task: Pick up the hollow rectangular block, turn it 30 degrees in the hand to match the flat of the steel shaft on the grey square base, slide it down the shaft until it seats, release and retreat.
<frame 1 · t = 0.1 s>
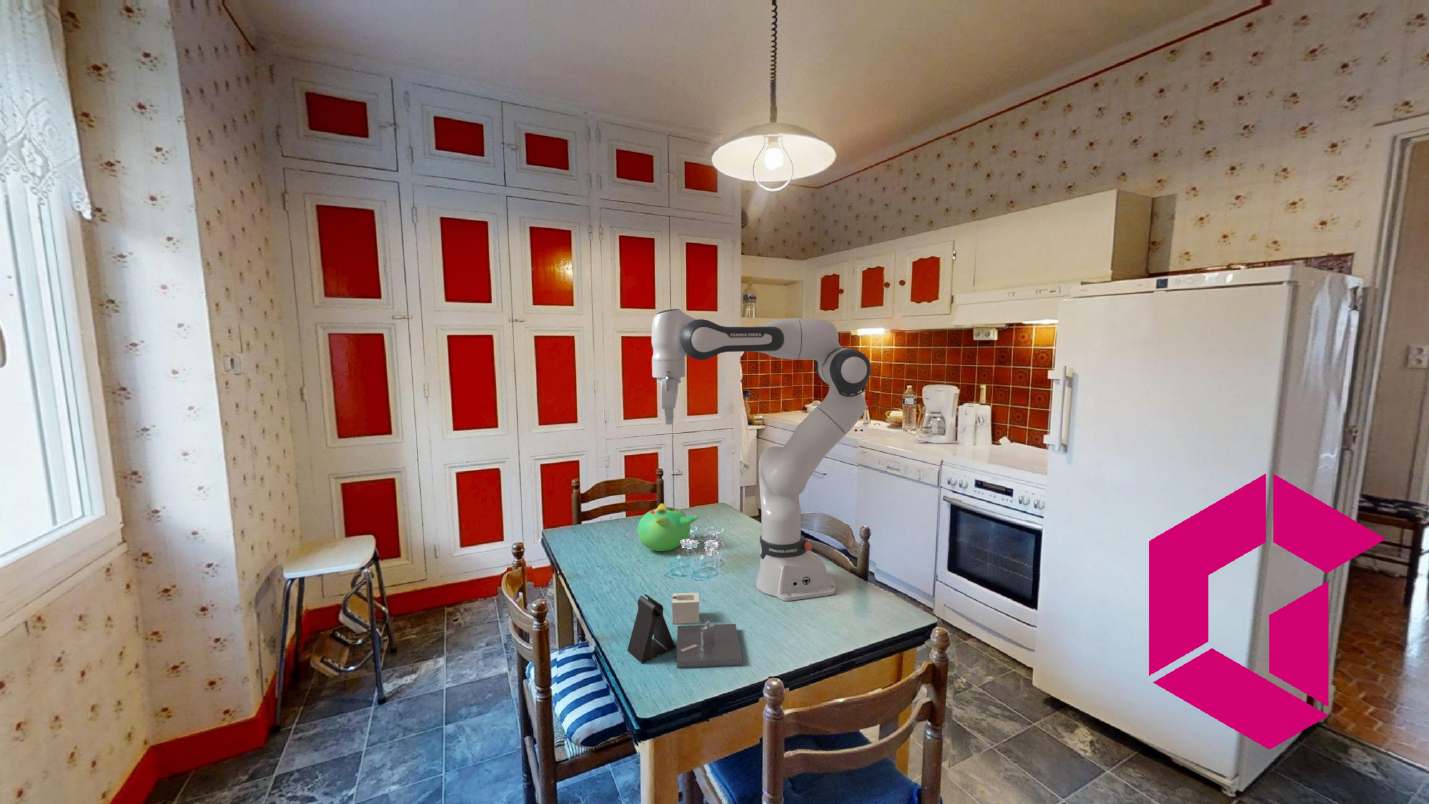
hand: (669, 421, 141), 48 cm above the table, fingers open, 8 cm apart
hollow rectangular block: (686, 618, 131), on the table
grey square base: (707, 647, 118), on the table
green bird toy: (665, 549, 175), on the table
black a-frame stand: (651, 650, 117), on the table
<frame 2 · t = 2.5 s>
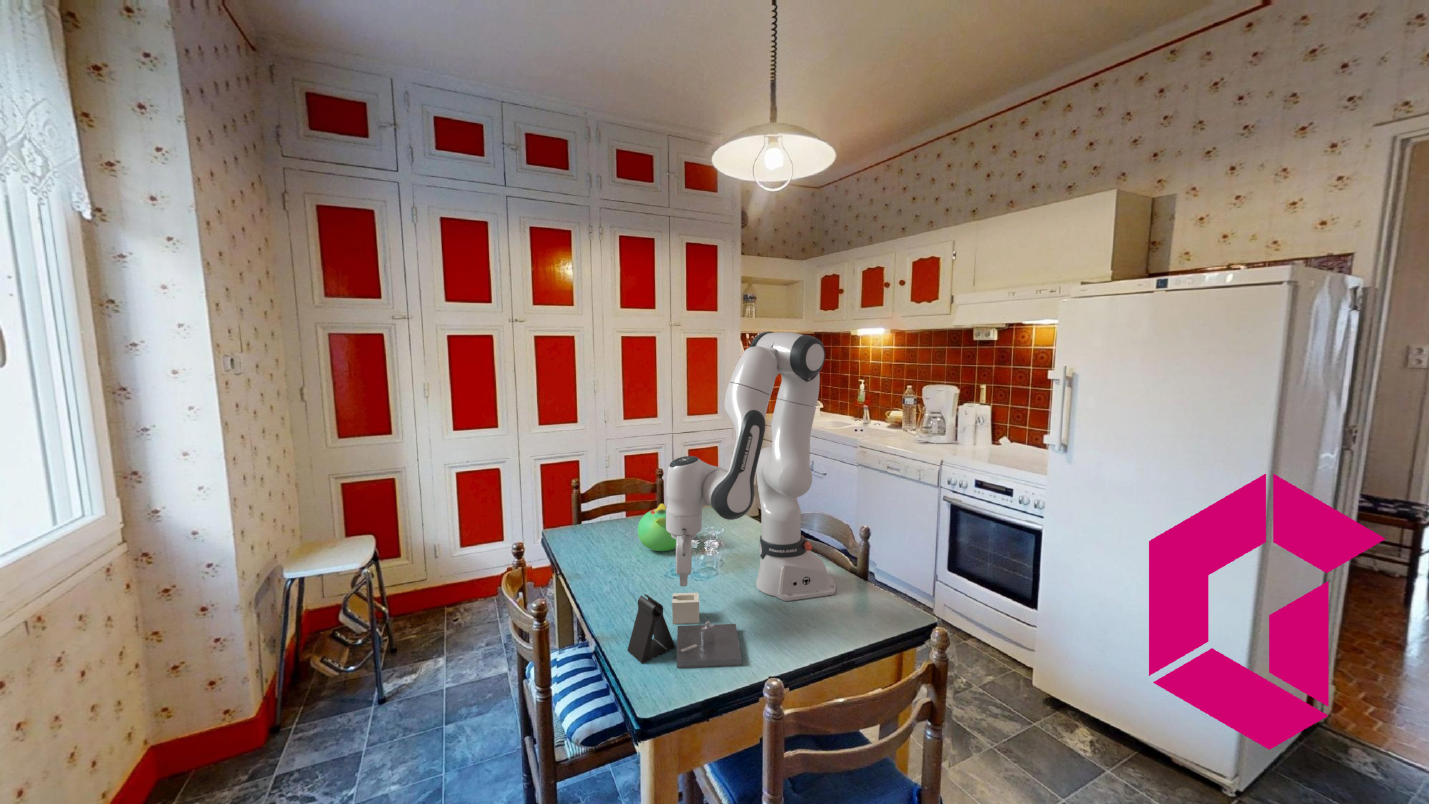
hand: (683, 576, 129), 11 cm above the table, fingers open, 8 cm apart
nothing on the table moved.
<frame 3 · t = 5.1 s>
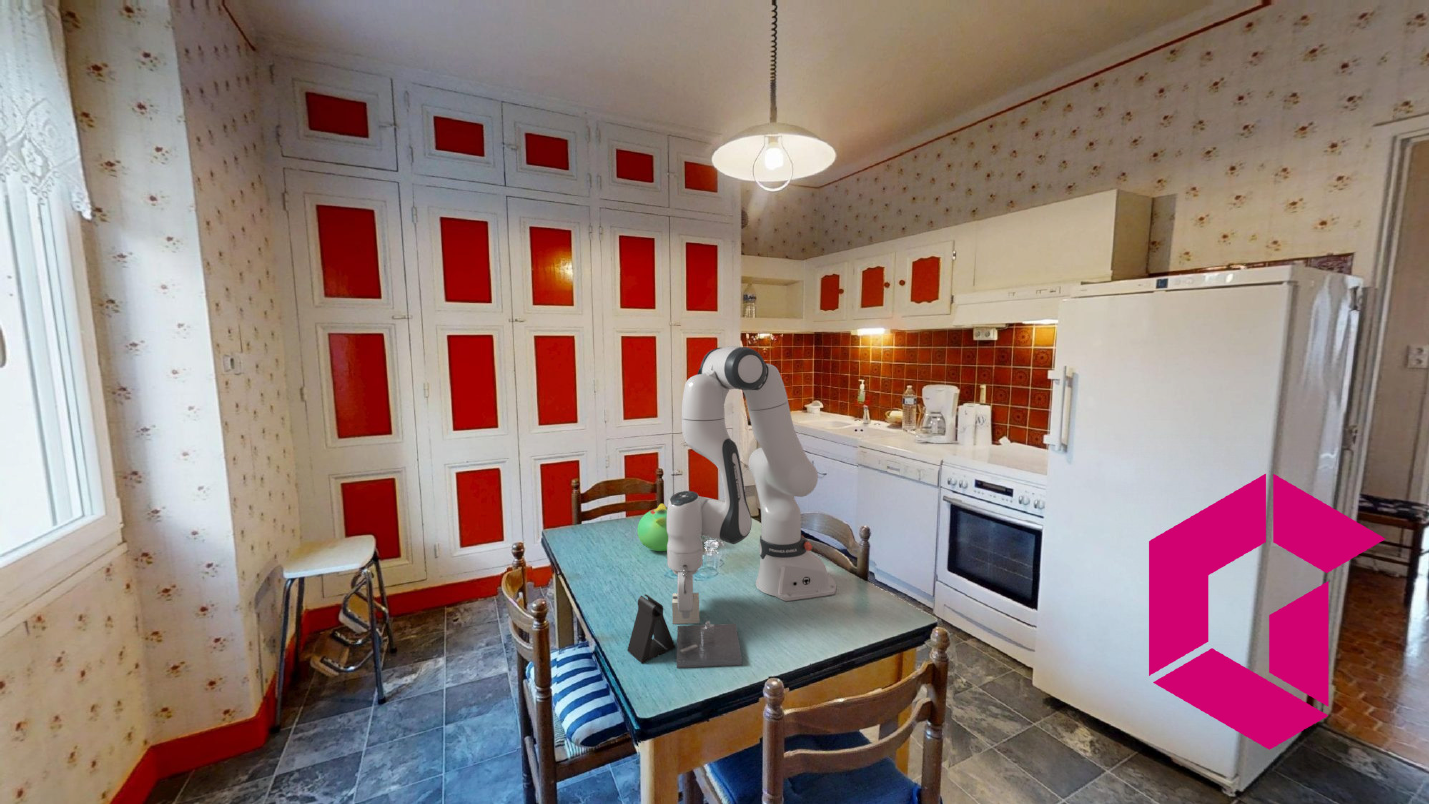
hand: (685, 610, 130), 2 cm above the table, fingers closed on hollow rectangular block, 5 cm apart
hollow rectangular block: (686, 618, 131), on the table, touching gripper
everything else where it was.
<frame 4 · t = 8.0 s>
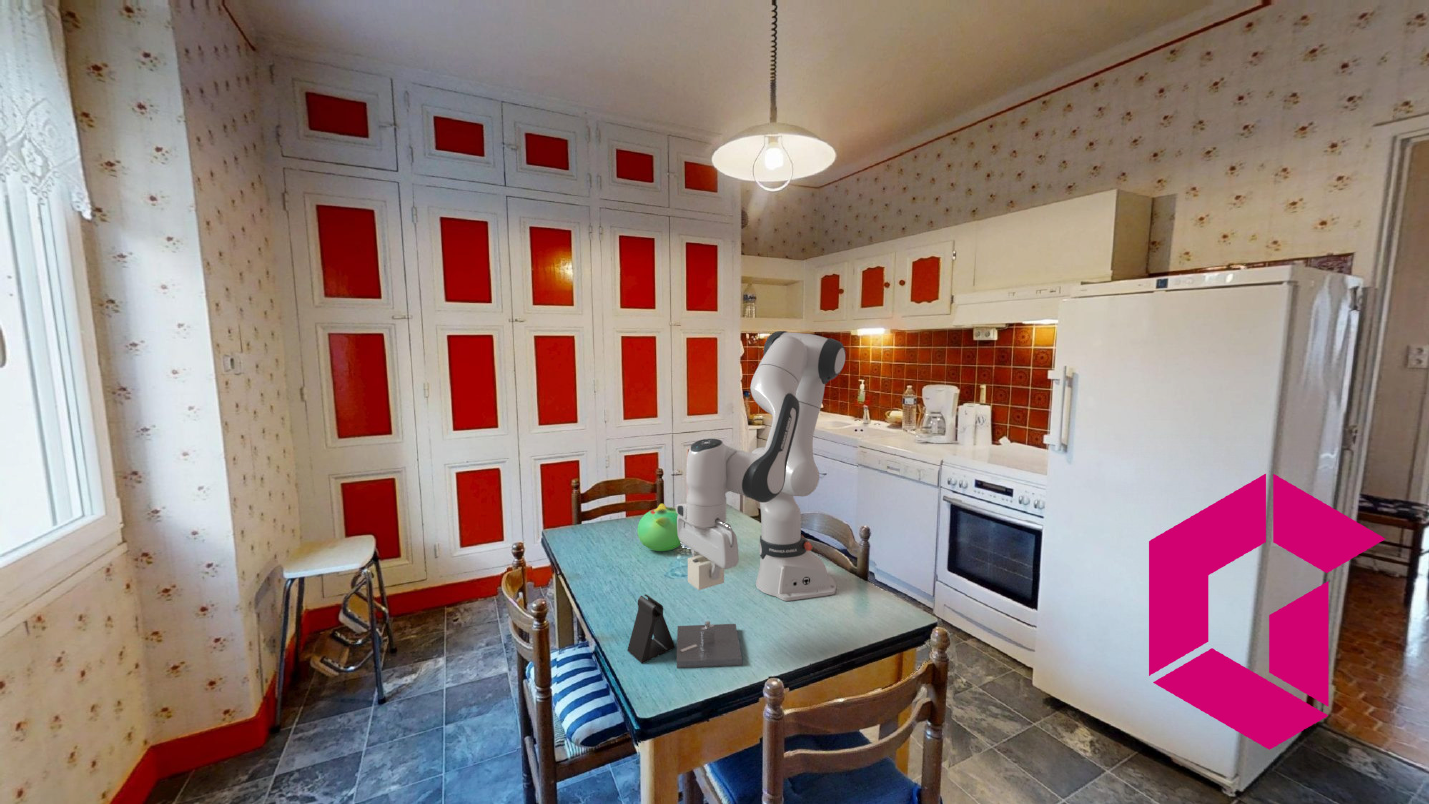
hand: (706, 573, 116), 18 cm above the table, fingers closed on hollow rectangular block, 5 cm apart
hollow rectangular block: (705, 582, 116), point 16 cm above the table, touching gripper
everything else where it was.
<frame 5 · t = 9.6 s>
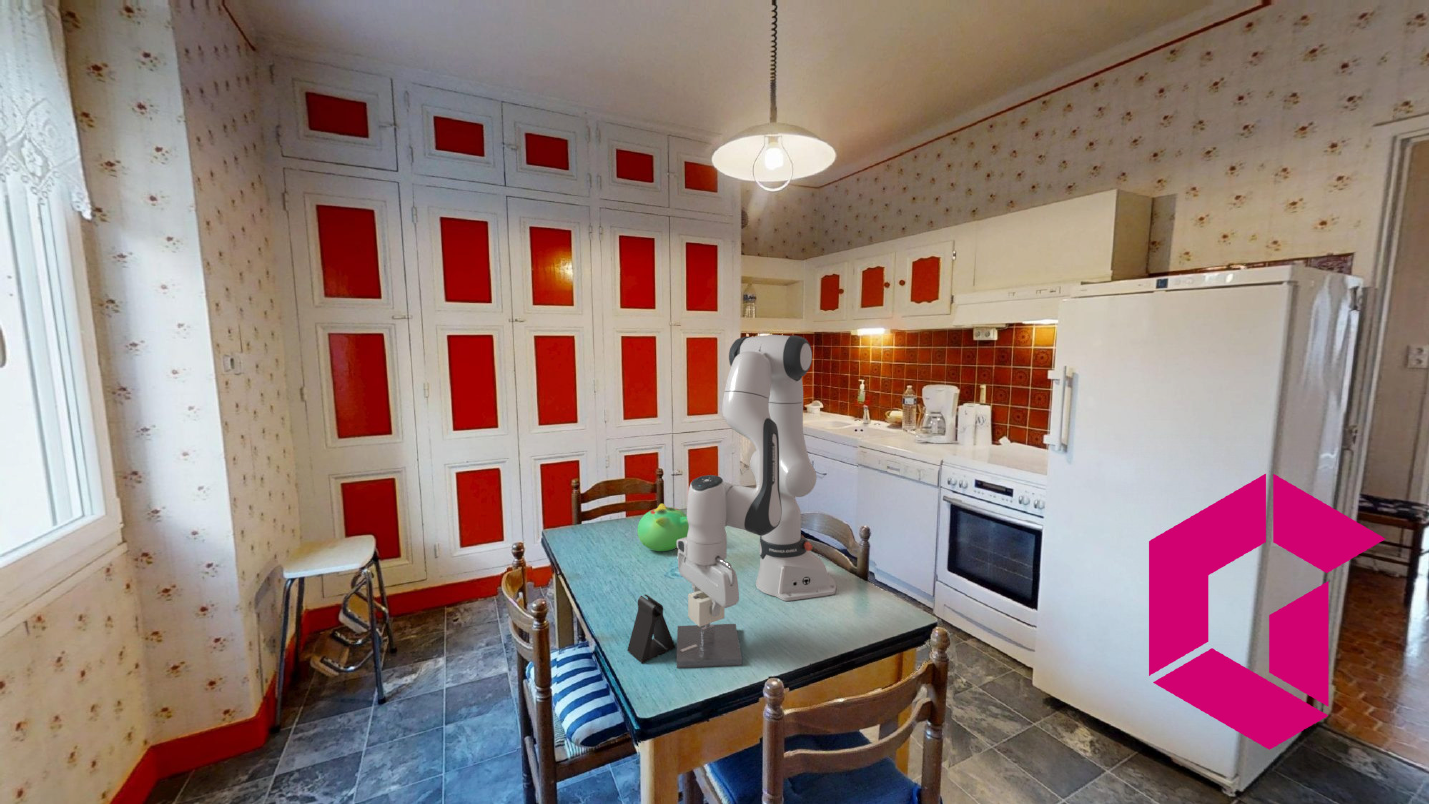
hand: (707, 608, 117), 9 cm above the table, fingers closed on hollow rectangular block, 5 cm apart
hollow rectangular block: (706, 617, 117), point 7 cm above the table, touching gripper
everything else where it was.
when the fingers open (5 cm above the table, at t = 10.9 s): hollow rectangular block stays where it is, resting on grey square base.
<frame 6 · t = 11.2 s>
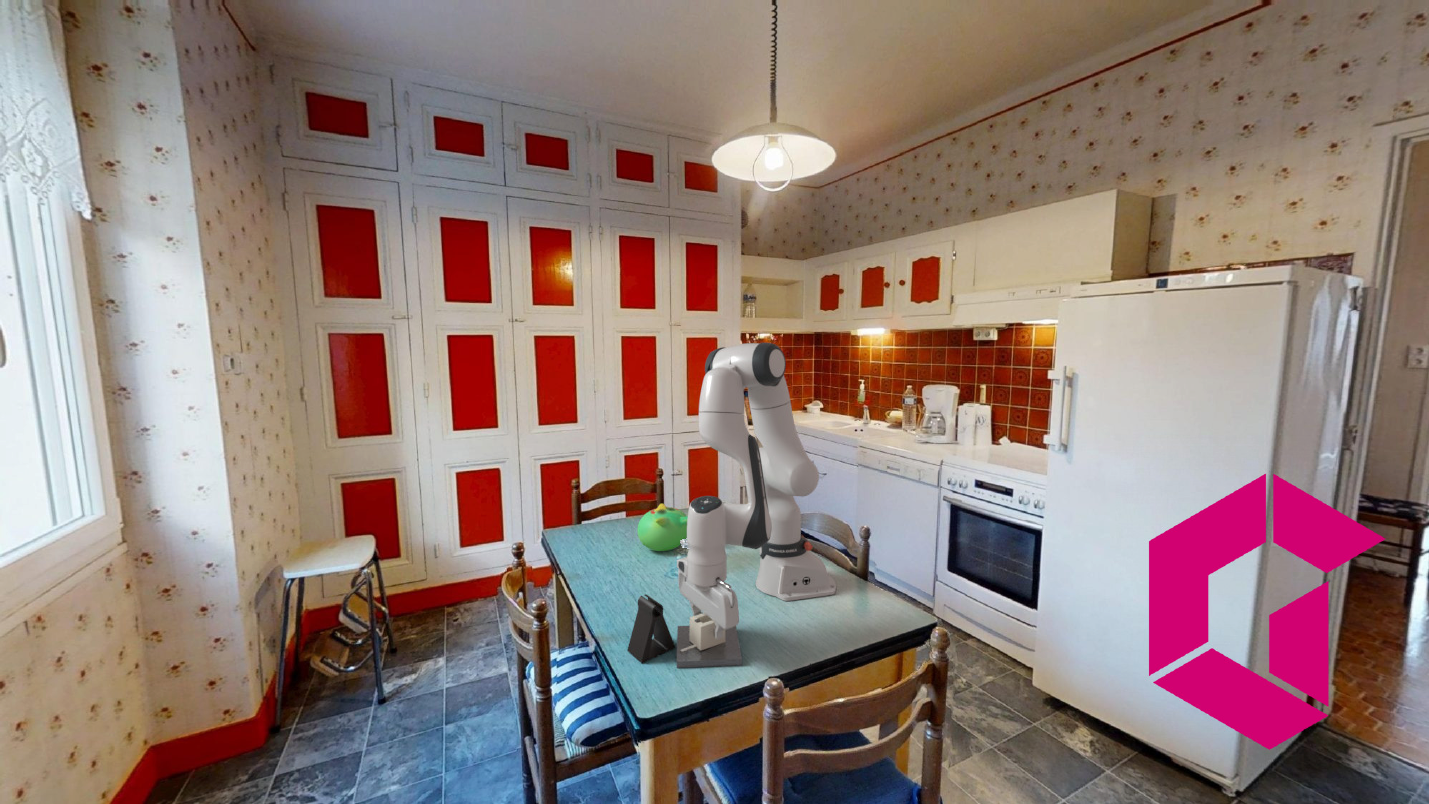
hand: (707, 628, 117), 5 cm above the table, fingers open, 7 cm apart
hollow rectangular block: (707, 641, 118), point 2 cm above the table, touching grey square base
everything else where it was.
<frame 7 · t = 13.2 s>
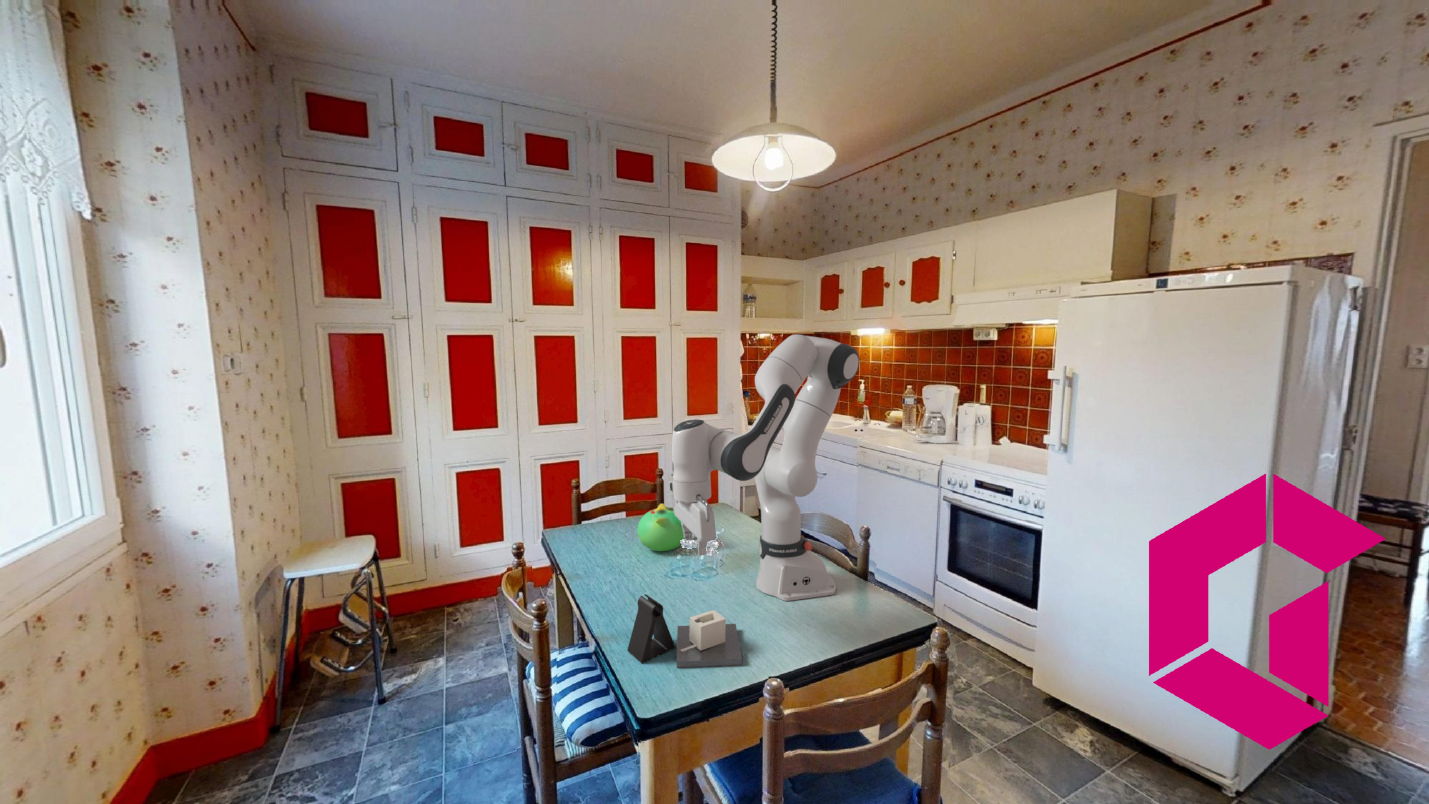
hand: (694, 546, 123), 21 cm above the table, fingers open, 8 cm apart
nothing on the table moved.
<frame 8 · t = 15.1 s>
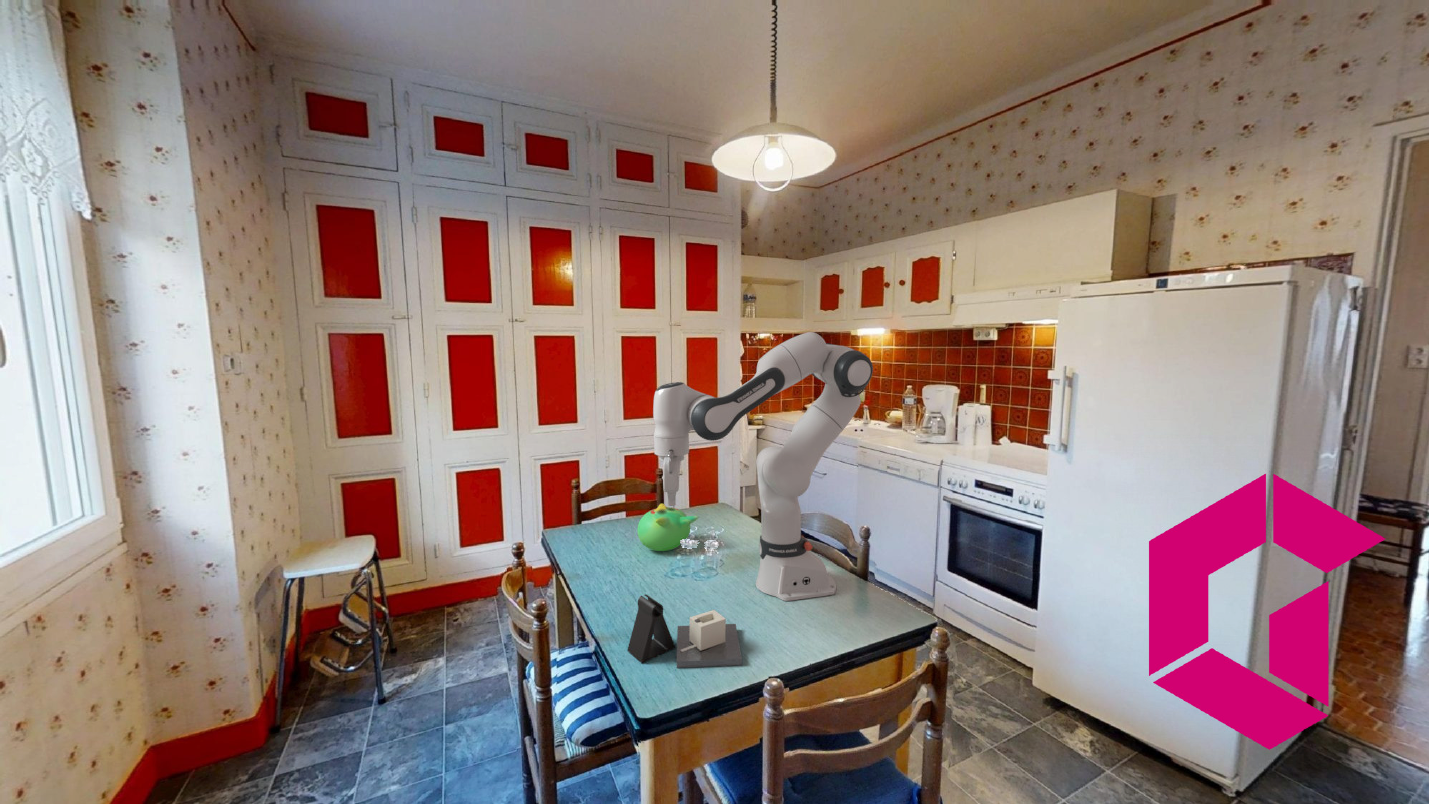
hand: (672, 499, 133), 29 cm above the table, fingers open, 8 cm apart
nothing on the table moved.
at the end: hollow rectangular block 0.2 cm off-centre on the grey square base, point 1.6 cm above the grey square base's base; hollow rectangular block tilted 2°; the gripper is holding nothing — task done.
